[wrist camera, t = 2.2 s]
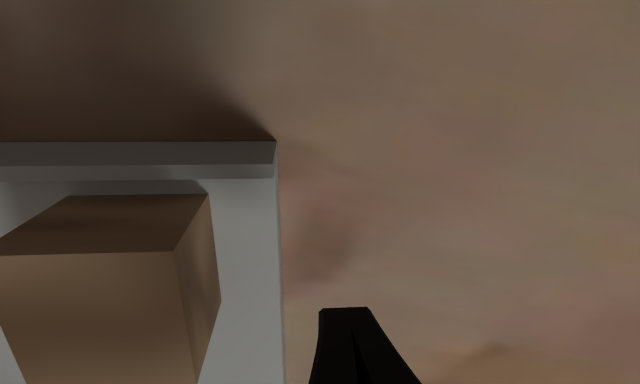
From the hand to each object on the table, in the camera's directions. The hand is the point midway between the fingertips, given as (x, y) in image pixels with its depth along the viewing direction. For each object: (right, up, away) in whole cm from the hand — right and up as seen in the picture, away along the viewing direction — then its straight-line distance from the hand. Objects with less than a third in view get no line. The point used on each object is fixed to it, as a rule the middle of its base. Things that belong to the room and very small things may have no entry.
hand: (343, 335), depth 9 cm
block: (-7, +2, +4) cm, 8 cm away
